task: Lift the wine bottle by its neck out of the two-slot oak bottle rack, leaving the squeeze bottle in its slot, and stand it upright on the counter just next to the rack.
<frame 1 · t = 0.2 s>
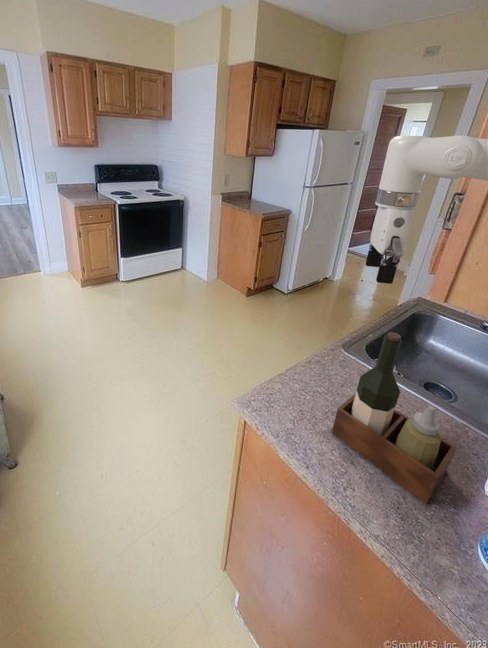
hand: (377, 273, 74), 40 cm above the worktop, tool pointing down, fingers open, 9 cm apart
squeeze bottle: (408, 468, 73), resting in bottle rack
wine bottle: (364, 436, 80), resting in bottle rack
bottle rack: (385, 451, 76), on the worktop
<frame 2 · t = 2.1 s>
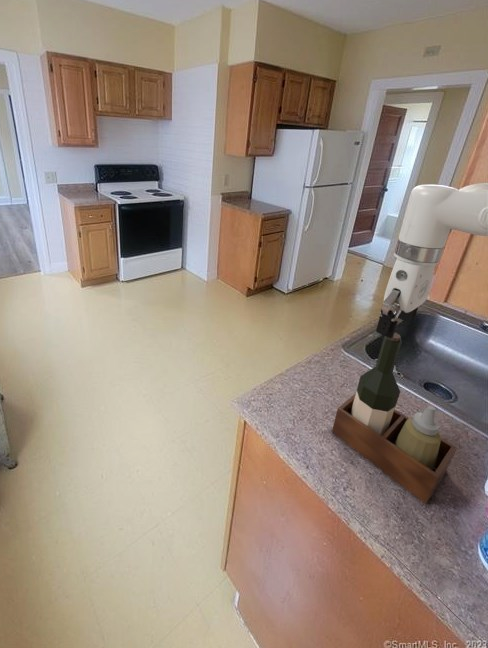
hand: (394, 327, 68), 32 cm above the worktop, tool pointing down, fingers open, 9 cm apart
nothing on the worktop moved.
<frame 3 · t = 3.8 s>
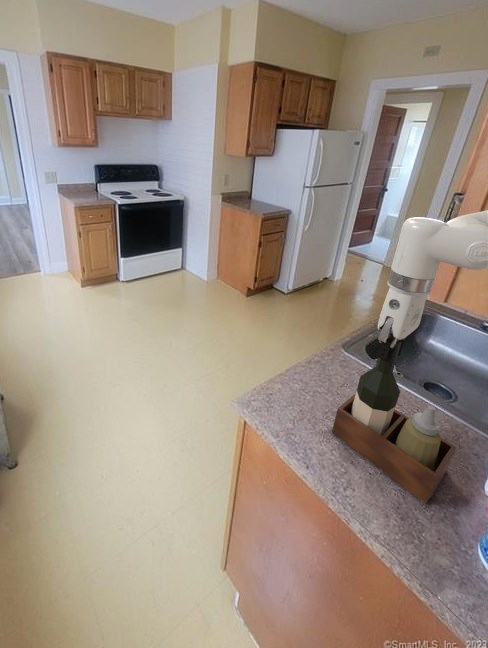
hand: (387, 355, 71), 25 cm above the worktop, tool pointing down, fingers closed on wine bottle, 3 cm apart
wine bottle: (364, 436, 80), resting in bottle rack, touching gripper
everything else where it was.
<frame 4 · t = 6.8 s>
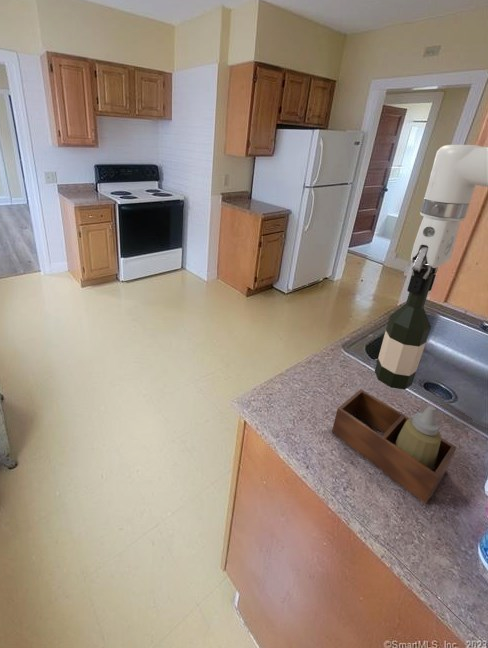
hand: (419, 290, 72), 38 cm above the worktop, tool pointing down, fingers closed on wine bottle, 3 cm apart
wine bottle: (392, 378, 81), point 13 cm above the worktop, touching gripper
everything else where it was.
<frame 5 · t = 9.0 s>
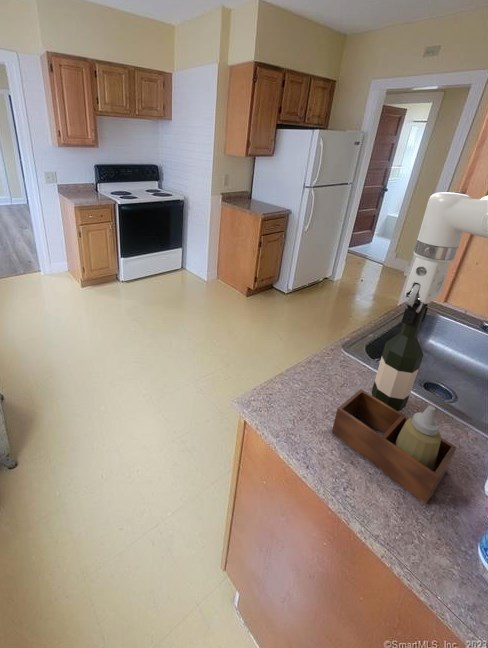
hand: (412, 321, 78), 28 cm above the worktop, tool pointing down, fingers closed on wine bottle, 3 cm apart
wine bottle: (387, 400, 87), point 3 cm above the worktop, touching gripper
everything else where it was.
when the fingers open (25 cm above the worktop, at t = 10.2 s): wine bottle stays where it is, on the worktop.
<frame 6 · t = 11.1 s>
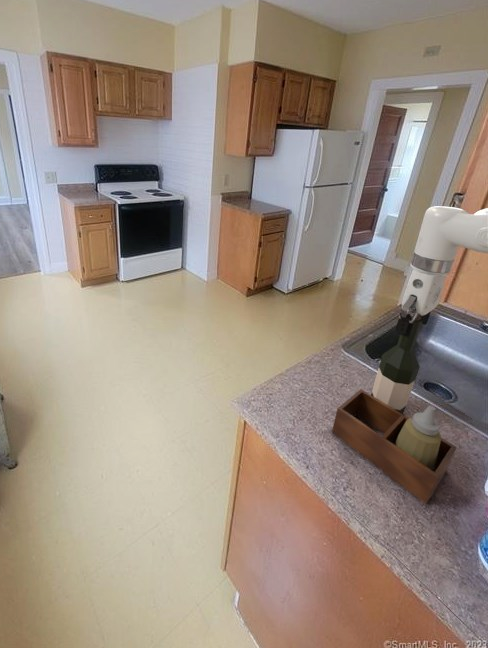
hand: (411, 328, 78), 26 cm above the worktop, tool pointing down, fingers open, 9 cm apart
wine bottle: (384, 410, 88), on the worktop
everything else where it was.
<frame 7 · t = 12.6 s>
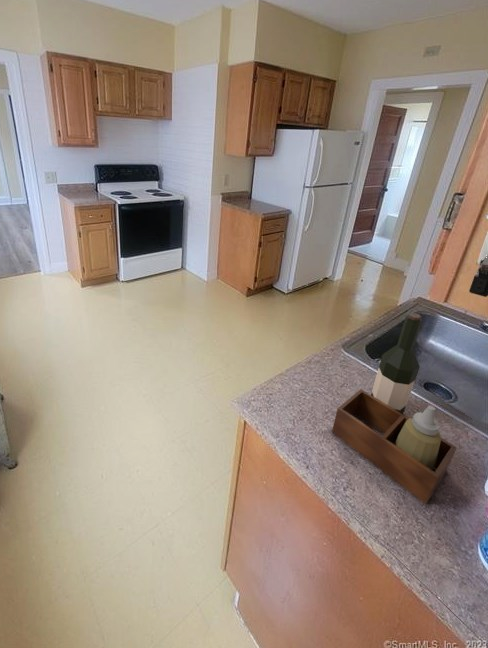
hand: (483, 288, 73), 38 cm above the worktop, tool pointing down, fingers open, 9 cm apart
nothing on the worktop moved.
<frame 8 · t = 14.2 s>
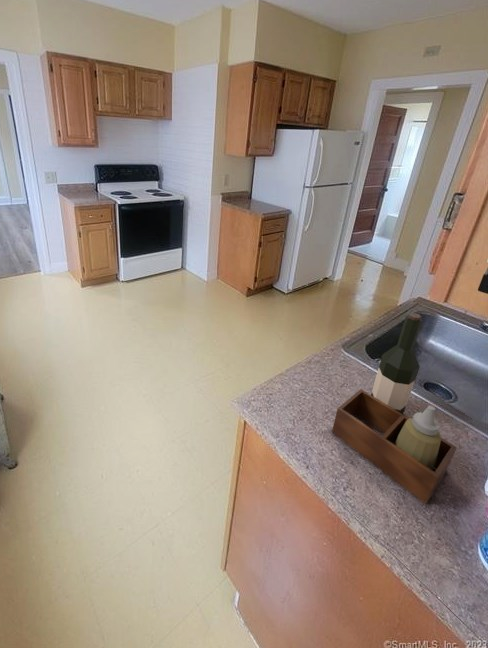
nothing on the worktop moved.
at the end: wine bottle inside the target area (0.1 cm from its centre), on the worktop; wine bottle tilted 0°; squeeze bottle moved 0.2 cm from its start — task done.
